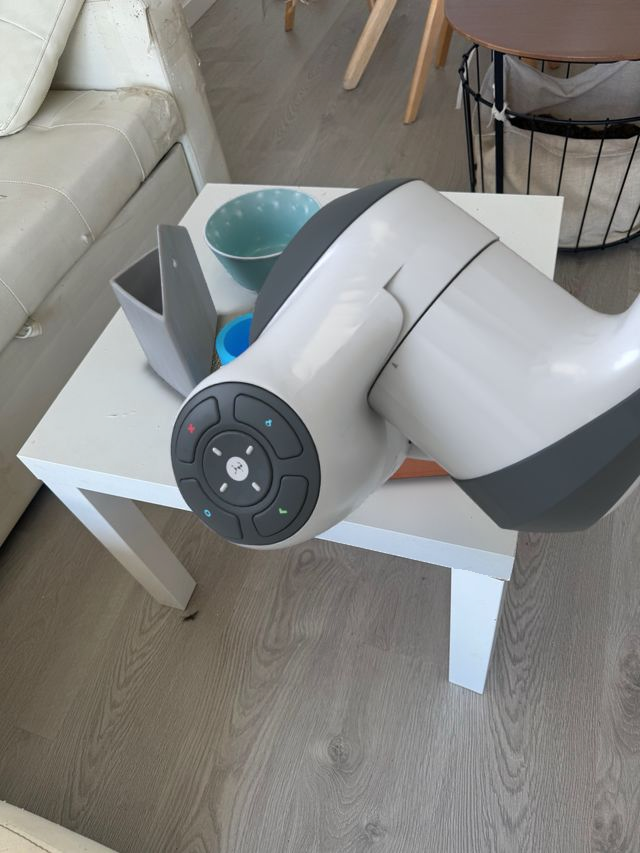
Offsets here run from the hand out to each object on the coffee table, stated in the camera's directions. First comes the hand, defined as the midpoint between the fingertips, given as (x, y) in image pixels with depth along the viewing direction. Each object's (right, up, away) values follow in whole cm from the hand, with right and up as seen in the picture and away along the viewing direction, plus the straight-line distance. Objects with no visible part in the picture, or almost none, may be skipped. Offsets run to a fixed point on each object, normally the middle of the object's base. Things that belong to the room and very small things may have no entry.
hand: (383, 409), depth 55 cm
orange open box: (+4, -2, +16) cm, 16 cm away
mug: (-10, +4, +24) cm, 26 cm away
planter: (-22, +6, +28) cm, 36 cm away
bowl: (-11, +20, +37) cm, 43 cm away
